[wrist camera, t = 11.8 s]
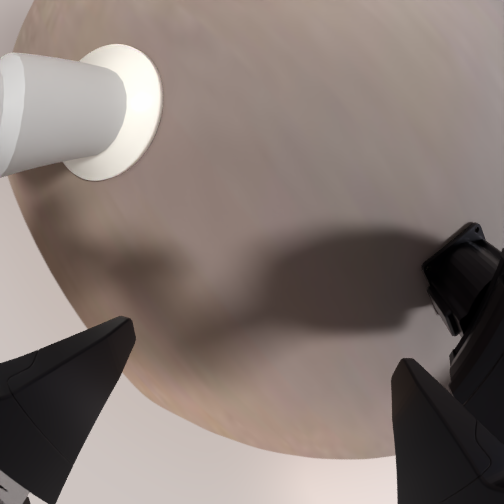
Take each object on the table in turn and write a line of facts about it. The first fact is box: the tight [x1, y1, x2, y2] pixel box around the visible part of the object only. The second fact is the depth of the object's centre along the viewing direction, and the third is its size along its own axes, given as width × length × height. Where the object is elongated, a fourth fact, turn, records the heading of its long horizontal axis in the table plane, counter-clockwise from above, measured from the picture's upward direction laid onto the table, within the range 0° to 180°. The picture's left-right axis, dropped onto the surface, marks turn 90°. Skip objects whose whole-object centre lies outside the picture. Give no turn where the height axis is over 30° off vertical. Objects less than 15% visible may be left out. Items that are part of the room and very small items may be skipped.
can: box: [0, 52, 127, 177], centre depth 12 cm, size 8×8×12 cm
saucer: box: [63, 44, 163, 181], centre depth 18 cm, size 12×12×1 cm
